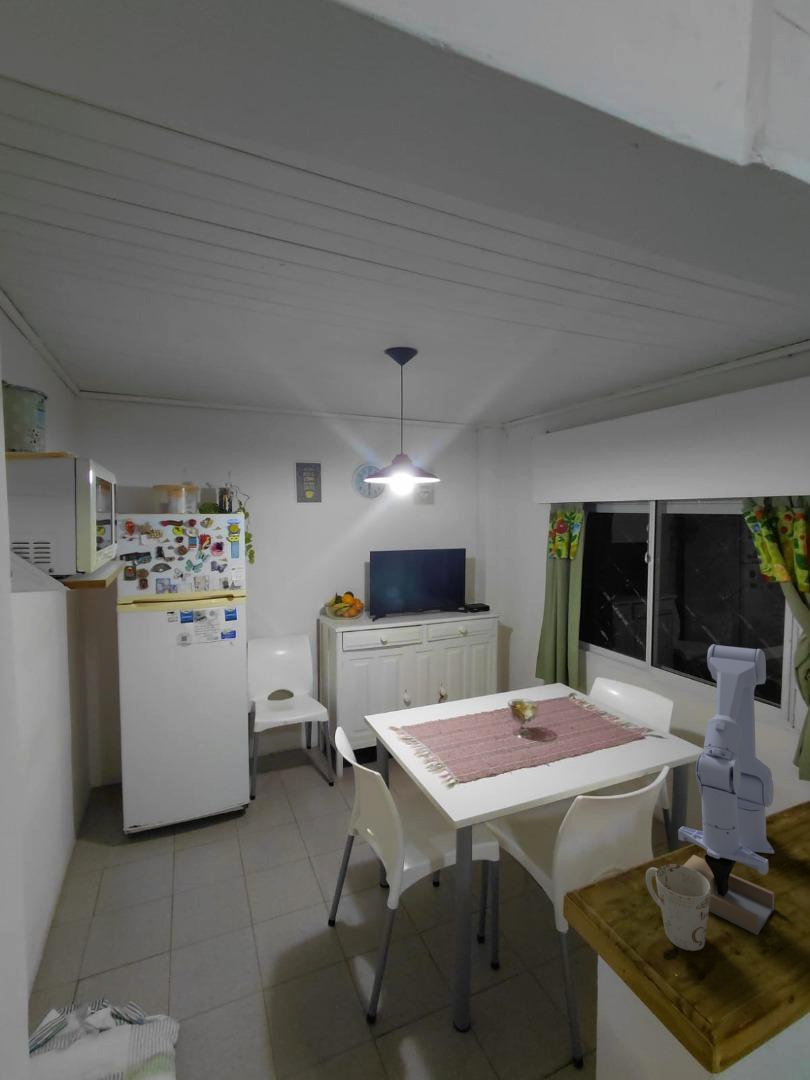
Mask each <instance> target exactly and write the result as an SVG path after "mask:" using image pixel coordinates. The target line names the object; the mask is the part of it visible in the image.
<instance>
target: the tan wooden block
mask: <svg viewBox="0 0 810 1080" xmlns="http://www.w3.org/2000/svg"><path fill="white" fill-rule="evenodd" d="M682 866H686V867H689V868H691V869H693V870H695V871H697V872H699V873H700V874H702V875H703V876H704V877H705V878H706V879H707V880H708V882H709V884H710V887H711V893H712V894H714V895H717V894H718V892H717V883H716V880H715V878H714V875H713V873H712V871H711V869H710V867H709V866H708V864H707V863H706V861H705V858H703V857H699V856H698V855H695V854H693V855H691V857H690V858H688V860H687V861H686V862H685V863H684V864H682Z"/></svg>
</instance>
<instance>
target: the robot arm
mask: <svg viewBox="0 0 810 1080" xmlns="http://www.w3.org/2000/svg"><path fill="white" fill-rule="evenodd" d="M706 660H707V661H706V663H707V664H706V665H707V668H708V671H709V672H710V675H711V679H713V680H714V681H716V696H715V697H716V698H715V699H716V700H715V714H714V716H713V717H711V718H710V719H708V720H707V724H706V729H705V730H706V731H705V737H704V742H703V749H702V754H699V755H698V756H697V759H696V762H695V763H696V764H695V778H696V779H695V780H696V783H697V787H698V794H699V795H700V797H701V816H702V817H701V818H702V819H701V820H702V830H699V829H698V830H697V829H693V828H689V827H686V826H681V827H680V828H679V829H678V831H677V833H678V838H677V839H678V841H682V842H689V843H691V844H694V845H696V846H698V847H700V848H702V849H704V850H705V851H706V854H705V855H704V859H705V861H706V863H707V864H708V866H709V867H710V869H711V871H712V873H713V875H714V878H715V880H716V883H717V892H718V894H719V895H722V896H725V894H726V893H727V892H728V878H729V875H730V874H732V873H731V872H732V870H733V868H734V866H735V864H736V863H740V864H742V865H744V866H746V867H749V868H752V869H753V870H756V871H757V872H758V873H759V874H761V875H763V876H766V875H767V873H768V872H769V870H770V869H769V859H767V858H765V857H763V856H760V855H759V854H756V853H762V854H775V850H774V849H773V847H772V845H771V843H770V842H769V841H768V839H767V820H766V817H767V815H766V808H769V807H771V806H772V805H773V803H774V780H773V776H772V774H773V773H772V771H771V768H770V767H769V766H768V765H766V764H765V763H763V761H761V760H760V759H759V758H757V757H756V756H757V755H756V754H757V753H756V722H755V721H756V720H755V719H756V718H755V689H756V687H757V685H764V684H766V681H767V671H766V670H767V662H766V660H767V659H766V655H765V652H764V651H763V650H762V649H761V648H757V649H756V648H749V647H739V646H738V647H737V646H730V645H729V646H726V645H720V644H719V645H718V644H714V643H713V644H711V645H710V646H709V647H708V649H707V655H706Z"/></svg>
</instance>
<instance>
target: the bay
mask: <svg viewBox="0 0 810 1080" xmlns="http://www.w3.org/2000/svg"><path fill="white" fill-rule="evenodd" d="M774 910H775V893H774V891H772V890H770V889H767V888H765V887H762V886H760V885H759V884H756V883H753V882H752V881H749V880H747V879H744V878H742V877H739V876H737V875H736V874H733V873H730V875H729V878H728V892H727V893H726V894H725V896H722V895H719V894H717V895H714V894H712V893H711V894H710V903H709V912H710V913H713V914H714V915H717V916H718V917H720V918H722V919H723V920H726V921H728V922H730V923H732V924H734V925H737V926H739V927H741V928H743V929H744V930H747V931H748V932H749V933H752V934H754V935H757V936H758V935H759V933H760V931H761V930H762V929H763V927H764V926H765V924H766V922H768V919H769V918H770V916H771V914H772V913H773V911H774Z"/></svg>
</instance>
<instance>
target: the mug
mask: <svg viewBox="0 0 810 1080" xmlns="http://www.w3.org/2000/svg"><path fill="white" fill-rule="evenodd" d="M654 877H655V881H656V882H655V883H656V887H657V893H656V891H655V889H654V887H653V883H652V880H653V878H654ZM645 884H646V887H647V890H648V892H649V893H650V895H651V898H653V900H654V902H655V904H656V905H657V906H658V907H660V910H661V911H660V912H661V916H662V923H663V927H664V932H665V935H666V938H667V939H668V941H670V942H671V943H672V944H673V945H674V946H676V947H678V948H680V949H683V950H685V951H689V950H690V951H691V952H694V951H696V952H697V951H699V950H702V949H703V948H704V947H705V944H706V938H707V937H706V936H707V928H708V919H709V912H710V911H709V903H710V894H711V887H710V884H709V882H708V880H707V879H706V878H705V877H704V876H703V875H702V874H700V873H699V872H697V871H695V870H693V869H691V868H689V867H686V866H683V864H682V865H680V864H674V863H672V864H671V863H670V864H664V865H661V866H660V867H658V868H657V867H650V868H648V869H647V870H646V872H645ZM657 894H658V895H657Z"/></svg>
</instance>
